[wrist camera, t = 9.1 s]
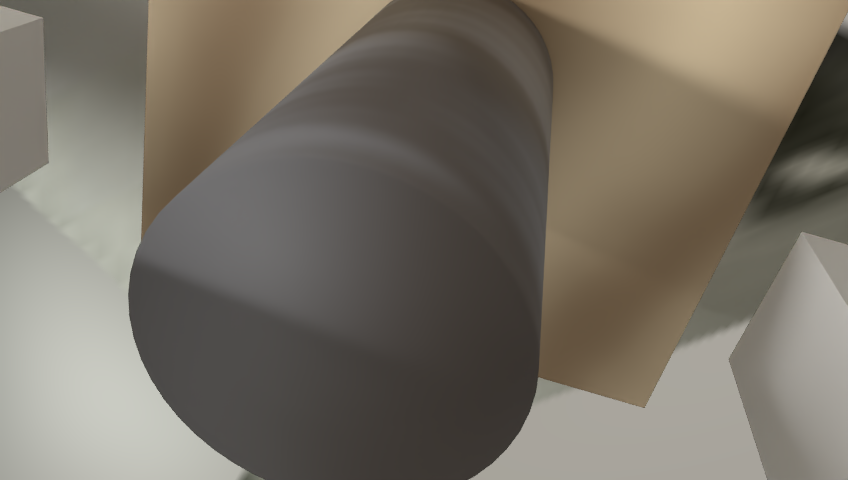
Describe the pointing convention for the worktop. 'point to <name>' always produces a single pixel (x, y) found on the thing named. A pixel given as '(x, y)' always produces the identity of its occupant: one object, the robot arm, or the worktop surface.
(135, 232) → the worktop surface
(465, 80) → the oak lid
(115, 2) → the worktop surface
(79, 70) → the worktop surface
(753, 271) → the worktop surface
